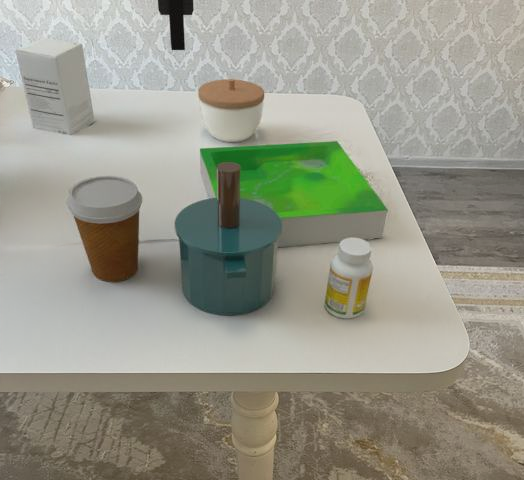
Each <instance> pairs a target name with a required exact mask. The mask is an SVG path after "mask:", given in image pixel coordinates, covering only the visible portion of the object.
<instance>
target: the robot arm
mask: <svg viewBox="0 0 524 480" xmlns="http://www.w3.org/2000/svg"><path fill="white" fill-rule="evenodd" d="M157 9H158V12H159V15H160V16H168V18H169V35H170V36H169V37H170V38H169V39H170V46H171V47H170V48H171V51H186V48H185V47H186V43H185V19H184V16H193V13H194V11H195V10H194V0H157Z"/></svg>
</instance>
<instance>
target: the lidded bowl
mask: <svg viewBox="0 0 524 480" xmlns="http://www.w3.org/2000/svg"><path fill="white" fill-rule="evenodd" d="M197 91H198V92H197V96H198V103H199V104H198V105H199V112H200V119H201V121H202V123H203V126H204V128H205V129H206V131H207V132H208V133H209V135H210V136H212V137H213V138H214V139H216V140H217V141H220V142H226V143H239V142H244V141H246V140H248V139H250V137H252V135H254V133H256V131H257V129H258V128H259V126H260V124H261V120H262V116H263V112H264V111H263V109H264V100H265V90H264V88H262V87H261V86H260V85H259V84H256V83H254V82H251V81H247V80H243V79H241V80H240V79H234V78H227V79H225V78H224V79H217V80H216V79H215V80H210V81H207V82H205V83H203V84H201V85H200V86H199V88H198V90H197Z"/></svg>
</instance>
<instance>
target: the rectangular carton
mask: <svg viewBox="0 0 524 480" xmlns="http://www.w3.org/2000/svg"><path fill="white" fill-rule="evenodd" d="M15 55H16V60H17V63H18V69H19V72H20V78H21V81H22V85H23V89H24V94H25V99H26V103H27V107H28V110H29V116H30V120H31V124H32V125H31V126H32V128H33V129H35V130H36V129H37V130H41V131H45V132H51V133H56V134H61V135H66V136H72V135H74V134H76V133H77V132H79V131H80V130H83V128H84V127H87V126H91V124H93V123H95V114H94V108H93V102H92V95H91V91H90V90H91V89H90V83H89V78H88V71H87V66H86V59H85V54H84V47H83V43H81V42H73V41H68V40H67V41H66V40H61V39H55V38H50V37H42V38H40V39H37V40H35V41H33V42H30V43H28V44H26V45H24V46H22V47H19V48H17V49H15Z"/></svg>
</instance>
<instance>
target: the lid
mask: <svg viewBox="0 0 524 480" xmlns="http://www.w3.org/2000/svg"><path fill="white" fill-rule="evenodd" d="M240 179H241V167H240V165H239V164H237V163H234V162H223V163H220V164H219V165H218V166H217V198H210V199H209V198H206V199H202V200H198V201H195V202H193V203H190V204H189V205H187V206H186V207H184V208H182V209H181V210H180V211H179V213H178V214H177V215H176V217H175V219H174V232H175V234H176V236H177V238H178V240H179V239H180V240H181V241H182V242H183V243H185V244H186V245H187V246H189V247H191V248H193V249H195V250H198V251H200V252H204V253H207V254H212V255H219V256H240V255H247V254H252V253H256V252H259V251H262V250H264V249H266V248H268V247H270V246H271V245H273V244H274V243H275V242H276V241H277V240H278V239H279V237H280V235H281V232H282V222H281V219H280V217H279V216H278V214H277V213H276V212H275V211H273V210H272V209H271V208H269V207H268V206H266V205H264V204H261V203H259V202H256V201H253V200H249V199H244V198H240Z"/></svg>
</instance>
